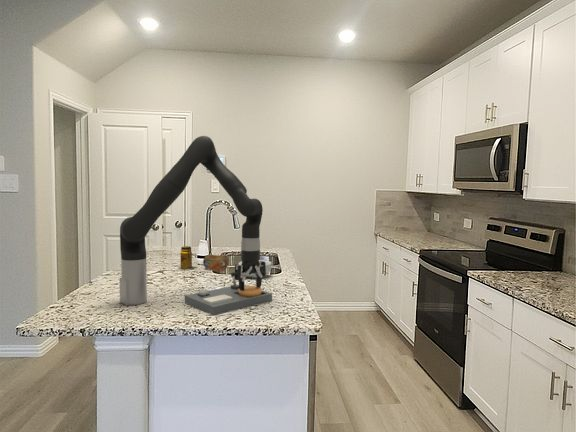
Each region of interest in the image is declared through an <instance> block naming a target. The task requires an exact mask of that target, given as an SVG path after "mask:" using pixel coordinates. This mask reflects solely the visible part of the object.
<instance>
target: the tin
mask: <svg viewBox="0 0 576 432" xmlns="http://www.w3.org/2000/svg"><path fill="white" fill-rule="evenodd" d="M228 261H229V260H228V258H227V257H226V256H225V255H219V254H207V255H205V256H204V257H203V260H202V264H203V266H204V269H206V270H208V271H213V272H214V271H215V272H223V271H225V270H226V269H227V268H228V264H229V262H228Z"/></svg>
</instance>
